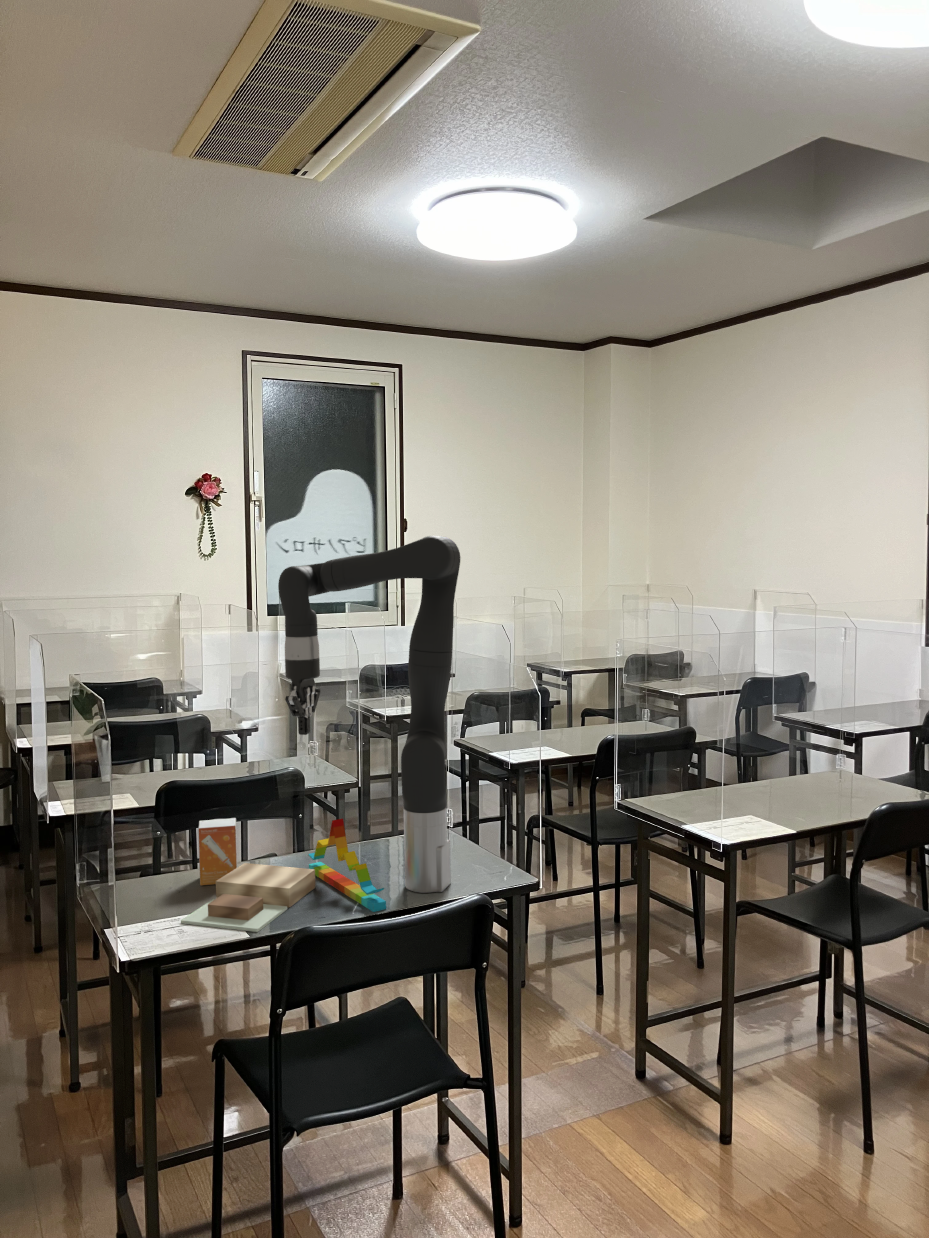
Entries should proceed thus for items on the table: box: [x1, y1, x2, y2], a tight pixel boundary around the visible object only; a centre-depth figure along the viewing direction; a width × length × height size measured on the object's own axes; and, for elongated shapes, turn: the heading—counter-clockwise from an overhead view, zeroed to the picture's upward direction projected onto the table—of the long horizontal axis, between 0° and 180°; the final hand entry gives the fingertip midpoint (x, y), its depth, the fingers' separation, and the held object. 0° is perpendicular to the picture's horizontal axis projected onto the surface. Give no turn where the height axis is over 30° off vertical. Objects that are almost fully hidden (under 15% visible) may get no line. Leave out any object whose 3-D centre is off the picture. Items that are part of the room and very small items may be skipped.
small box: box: [198, 817, 238, 886], centre depth 218 cm, size 8×6×13 cm
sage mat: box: [180, 898, 288, 933], centre depth 197 cm, size 17×12×1 cm
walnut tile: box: [208, 894, 263, 921], centre depth 197 cm, size 9×6×2 cm, turn 73°
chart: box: [307, 818, 387, 913], centre depth 211 cm, size 30×3×15 cm, turn 34°
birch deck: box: [215, 862, 316, 908], centre depth 209 cm, size 17×12×4 cm
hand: (304, 733), depth 218 cm, fingers closed
